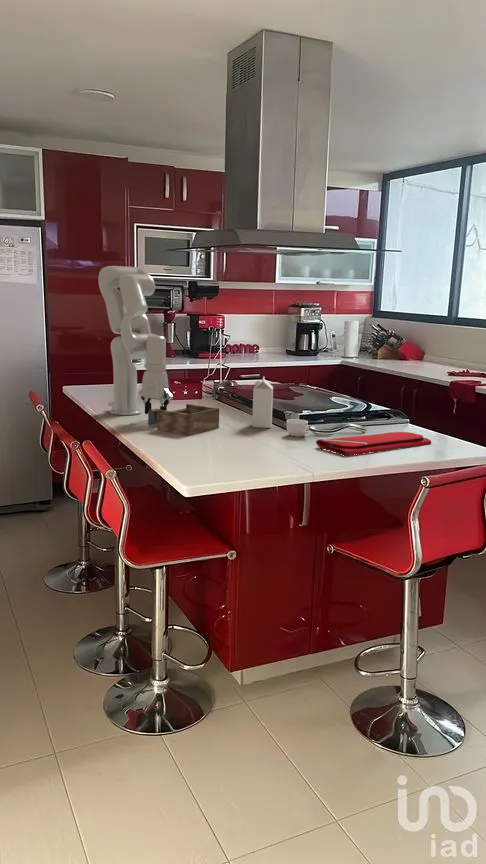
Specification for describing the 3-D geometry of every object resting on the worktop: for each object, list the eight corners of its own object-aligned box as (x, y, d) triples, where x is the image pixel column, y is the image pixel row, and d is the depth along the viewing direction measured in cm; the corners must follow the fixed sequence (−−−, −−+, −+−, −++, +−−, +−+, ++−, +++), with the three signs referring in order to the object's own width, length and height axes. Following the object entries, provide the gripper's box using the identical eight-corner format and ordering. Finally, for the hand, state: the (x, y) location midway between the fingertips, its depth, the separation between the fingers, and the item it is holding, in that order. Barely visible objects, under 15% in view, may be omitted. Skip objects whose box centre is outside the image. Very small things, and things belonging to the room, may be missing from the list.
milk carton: (271, 424, 270) (273, 376, 266) (270, 428, 263) (272, 378, 260) (253, 424, 271) (255, 375, 267) (252, 427, 264) (253, 378, 260)
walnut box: (157, 429, 255) (157, 409, 253) (187, 422, 269) (187, 403, 268) (189, 435, 247) (189, 414, 245) (218, 428, 261) (219, 408, 260)
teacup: (281, 435, 252) (282, 420, 251) (296, 432, 257) (297, 418, 256) (300, 440, 245) (301, 425, 243) (316, 437, 249) (316, 422, 248)
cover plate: (129, 426, 264) (129, 410, 262) (155, 420, 276) (155, 405, 275) (155, 430, 257) (155, 414, 256) (180, 424, 270) (180, 409, 268)
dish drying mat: (432, 445, 244) (433, 435, 243) (346, 458, 221) (347, 447, 220) (398, 437, 257) (399, 427, 256) (314, 448, 234) (314, 438, 233)
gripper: (131, 367, 264) (132, 413, 267) (167, 371, 254) (166, 418, 258) (145, 365, 270) (145, 410, 274) (179, 369, 261) (179, 416, 264)
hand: (155, 414), depth 266 cm, fingers open, 7 cm apart
